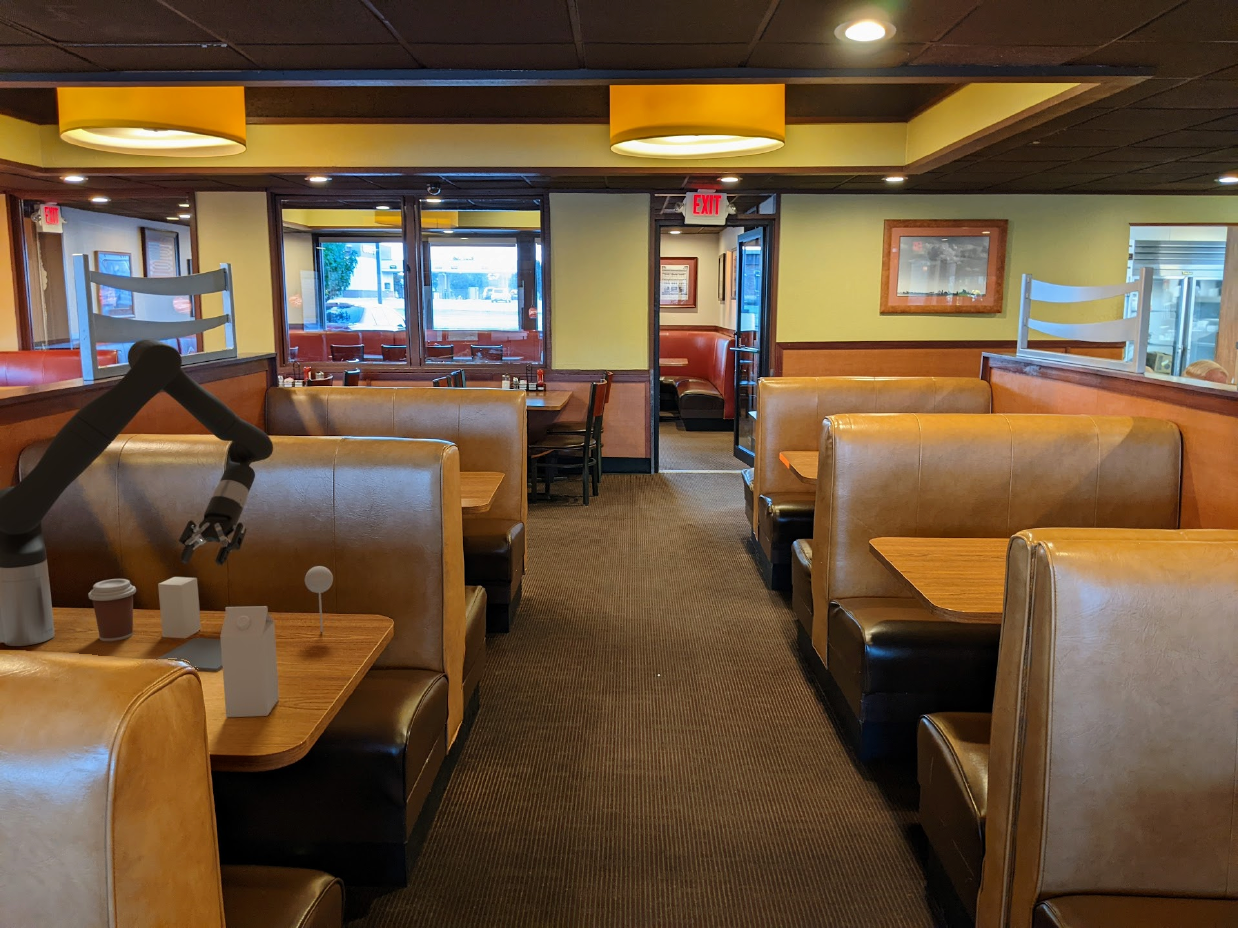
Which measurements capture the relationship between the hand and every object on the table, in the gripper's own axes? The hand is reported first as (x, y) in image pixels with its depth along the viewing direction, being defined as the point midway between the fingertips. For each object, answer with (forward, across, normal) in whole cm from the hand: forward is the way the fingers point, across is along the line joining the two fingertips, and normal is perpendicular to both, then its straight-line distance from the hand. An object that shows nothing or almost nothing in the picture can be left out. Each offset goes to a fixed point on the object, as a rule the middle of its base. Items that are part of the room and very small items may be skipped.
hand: (201, 562), depth 207 cm
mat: (+24, +13, -4) cm, 27 cm away
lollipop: (+12, +30, +8) cm, 33 cm away
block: (+16, 0, +4) cm, 16 cm away
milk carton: (+39, +37, -20) cm, 58 cm away
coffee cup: (+19, -13, +1) cm, 23 cm away
